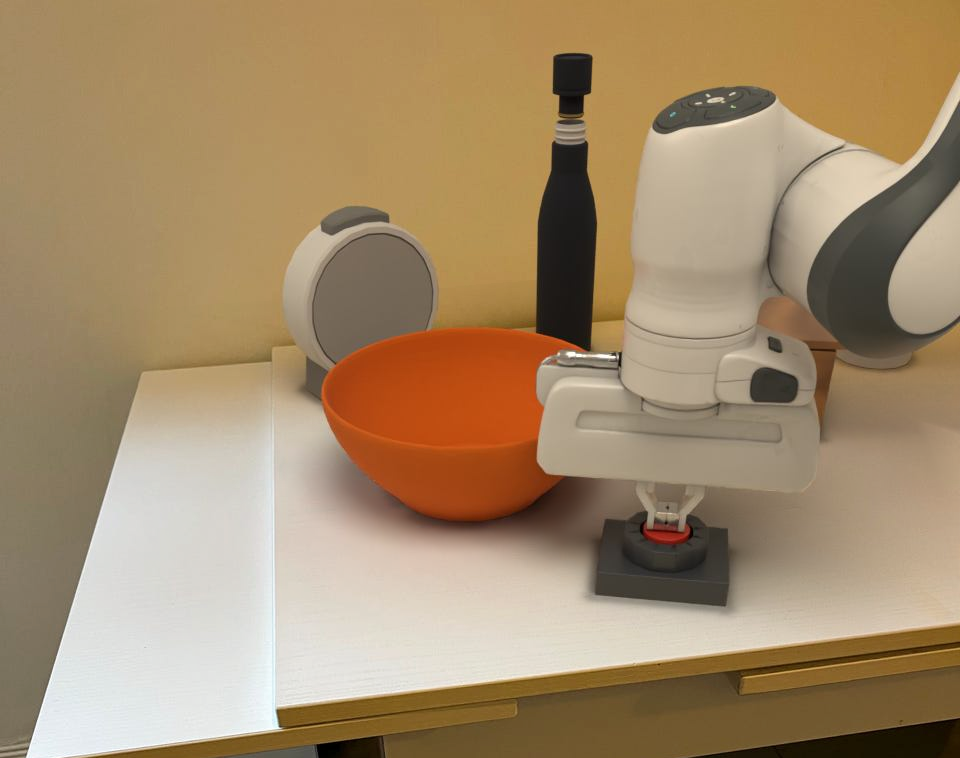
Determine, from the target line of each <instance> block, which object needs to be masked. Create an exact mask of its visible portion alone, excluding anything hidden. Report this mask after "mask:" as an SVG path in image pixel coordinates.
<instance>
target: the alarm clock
mask: <svg viewBox="0 0 960 758" xmlns="http://www.w3.org/2000/svg"><path fill="white" fill-rule="evenodd" d="M281 292H282V295H281V297H282V298H281V299H282V315H283V317H284V321H285V325H286V329H287V331H288V333H289V335H290V337H291V339H292V340H293V342H294V343H295V345H296V347H297V348H298V349H299V350H300V351H301V352H303V354H304V355H305V356H306V357H305V359H306V360H305V389H306V391H308V392H310V393H311V394H312V395H314V396H315V397H316V398H318V399H319V400H320V401H322V399H321V390H322V385H323V382H324V379H325V377H326V375H327V374H328V373H329V372H330V370H331V369H332V368H333V367H334V366H335V365H336V364H337V363H339V362H340V361H341V360H342V359H344V358H345V357H347V356H348V355H350V354H352V353H353V352H355V351H357V350H359V349H361V348H364V347H366V346H368V345H371V344H373V343H376V342H379V341H382V340H385V339H389V338H392V337H396V336H400V335H405V334H410V333H415V332H420V331H427V330H433V327H434V324H435V321H436V317H437V312H438V310H439V309H438V308H439V293H440V288H439V282H438V275H437V269H436V267H435V265H434V262H433V259H432V257H431V255H430V253H429V251H428V250H427V249H426V247H425V246H424V245H423V244H422V242H421V241H420V240H419V238H418V237H417V236H415V235H413V234H412V233H410V232H409V231H408V230H406V229H405V228H404V227H401V226H399V225H396V224H394V223H392V222H390V214H389V213H388V212H385V211H384V210H381V209H378V208H375V207H370V206H363V205H362V206H361V205H351V206H349V205H347V206H344V207H341V208H338V209H336V210H334V211H332V212H331V213H329V214H328V215H326V216H325V217H324V218H323V219H321V220H320V224H319V225H317V227H315V228H314V229H312V230H311V231H310V232H309V233H308V234H307V235H306V236H305V238H304V239H302V241H301V242H300V244H299V245H298V246H297V247H296V248H295V250H294V253H293V255H292V257H291V259H290V260H289V264H287V268H286V270H285V275H284V280H283V285H282V290H281Z"/></svg>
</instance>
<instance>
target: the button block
mask: <svg viewBox="0 0 960 758" xmlns="http://www.w3.org/2000/svg"><path fill="white" fill-rule="evenodd" d="M647 517H648V512H647V511H646V510H643V511H639V512H636V513H635V514H633V515H632V516H630V517H629V518H628V519H617V518H616V519H615V518H614V519H613V518H604V523H603V529H602V535H601V542H600V547H599V553H598V554H599V555H598V560H597V566H596V572H595V573H596V575H595V589H594V596H603V597H613V598H614V597H616V598H625V599H636V600H645V601H646V600H648V601H658V602H667V603H681V604H693V605H704V606H715V607H727V602H728V595H729V589H730V556H729V555H730V554H729V551H730V550H729V528H728V527H716V526H708V525H707V524H705V522H703V520H701V518H700V517H698V516H696V515H694V514H691V513H689V514H688V515H686V523H687V524H688V525H689V528H690V535H689V540H688V541H687V542H685V543H681V544H676V545H665V544H657V543H654V542H652V541H649V540H647V539H645V537H644V536H643V526H644V523H645V522H646V521H647Z"/></svg>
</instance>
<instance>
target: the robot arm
mask: <svg viewBox="0 0 960 758" xmlns="http://www.w3.org/2000/svg"><path fill="white" fill-rule="evenodd" d="M631 217H632V218H631V228H630V238H629V251H630V257H631V261H632V268H633V277H632V284H631V288H630V291H629V293H628V295H627V299H626V302H625V306H624V316H623V329H622V342H621V350H620V351H608V350H607V351H605V350H591V352H582V351H577V350H572V349H563V350H558V353H557V354H555V355H551V356H549V357H547V358H545V359H544V360H543V361H542V362H541V363H540V364H539V366H538V368H537V371H536V396H537V399H538V400H539V402H540V403H541V405H542V406H543V407H544V411H543V415H542V420H541V425H540V431H539V437H538V446H537V463H538V464H539V465H540V467H541V468H542V469H543V470H544V472H545V473H547V474H551V475H563V476H565V477H576V478H577V477H578V478H590V479H591V478H593V479H606V480H618V481H631V482H636V483H635V494H636V496H637V497H638V499H639V501H640V502H641V504H642V506H643V508H644V511H647V512H648V517H647V528H646V529H648V530H661V531H674V532H684V530H685V523H686V515H688V514H691V512H692V511H693V510H694V509H695V508H696V507H697V506H698V505H699V503H700V502H701V501H702V500H703V499H704V498H705V493H706V487H711V488H712V487H713V488H723V489H724V488H726V489H737V490H739V489H740V490H751V491H752V490H753V491H765V492H779V493H792V494H800V493H802V492H804V491H805V490H807V489H808V488H809V487H810V486H811V485H812V484H814V482H815V479H816V476H817V471H818V465H819V455H820V441H821V429H820V425H819V419H818V412H817V407H816V402H815V398H814V392H815V388H816V380H817V371H816V365H815V361H814V358H813V355H812V353H811V351H810V349H809V347H808V345H807V344H805V343H804V342H802V341H800V340H798V339H795V338H793V337H790V336H787V335H784V334H782V333H779V332H776V331H774V330H771V329H768V328H766V327H763V326H761V325H758V324H757V319H758V313H759V309H760V306H761V304H762V303H763V302H764V301H765V300H766V299H768V298H771V297H783V296H786V297H788V298H789V299H791V300H792V301H793V302H795V303H796V304H798V305H799V306H800V307H802V308H803V309H805V310H806V311H808V312H809V313H810V314H812V315H813V316H814V317H815V318H816V320H817V321H818V322H819V323H820V324H821V325H822V326H823V327H824V328H825V329H826V330H827V331H828V332H829V333H830V334H831V335H832V336H833V337H834V338H835V339H836V340H837V341H838V342H839V343H840V344H841V345H842V346H843V347H844V348H846V349H847V350H848V351H850V352H852V353H854V354H856V355H859V356H862V357H866V358H874V359H884V358H892V357H897V356H901V355H904V354H907V353H910V352H912V353H913V352H915V351H917V350H919V349H922V348H924V347H926V346H928V345H930V344H932V343H934V342H936V341H937V340H939V339H940V338H942V337H944V336H945V335H946V334H948V333H949V332H950V331H952V330H953V329H954V328H955V327H957V326H958V325H959V324H960V71H959V72H958V74H957V76H956V78H955V79H954V83H953V84H952V86H951V88H950V90H949V92H948V94H947V96H946V98H945V100H944V102H943V104H942V106H941V108H940V110H939V112H938V114H937V116H936V117H935V120H934V122H933V124H932V126H931V127H930V130H929V132H928V134H927V135H926V138H925V139H924V141H923V143H922V145H921V146H920V147H919V148H918V150H917V151H916V152H915V154H914V155H913V156H912V157H910V158H909V159H908V160H907V161H906V162H904V163H903V164H901V163H898V162H895V161H893V160H891V159H888V158H886V157H885V156H884V155H882V154H880V153H878V152H875V151H873V150H871V149H869V148H866V147H864V146H862V145H860V144H857V143H855V142H852V141H849V140H846V139H843V138H840V137H838V136H836V135H833V134H830V133H828V132H826V131H823V130H822V129H820V128H818V127H816V126H815V125H812V124H810V123H809V122H807V121H806V120H804V119H802V118H801V117H799V116H798V115H796V114H795V113H793V112H792V111H791V110H790V109H789V108H788V107H786V106H785V105H783V104H782V102H781V101H780V100H779V96H777V95H776V93H774V92H773V91H772V90H769V89H766V88H762V87H759V86H753V85H735V86H718V87H711V88H707V89H702V90H699V91H695V92H692V93H690V94H687V95H685V96H682V97H679V98H678V99H676V100H674V101H673V102H672V103H670V104H669V105H668V106H666V107H664V109H662V110H661V111H659V113H658V114H657V115H656V117H655V118H654V120H653V122H652V123H651V125H650V127H649V129H648V132H647V135H646V137H645V142H644V145H643V148H642V153H641V156H640V162H639V167H638V172H637V179H636V185H635V191H634V200H633V208H632V216H631ZM555 360H557V363H550V362H552V361H555ZM657 483H658V484H671V485H683V486H684V485H685V493H684V494H683V495H682V497H680V499H679V500H678V502H677V501H665V500H658V498H657V496H656V494H655V487H656V484H657Z"/></svg>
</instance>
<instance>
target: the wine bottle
mask: <svg viewBox="0 0 960 758" xmlns="http://www.w3.org/2000/svg"><path fill="white" fill-rule="evenodd" d="M593 59H594V57H593V55H592V54H590V53H584V52H583V53H582V52H565V53H564V52H563V53H558V54H555V55H553V56H552V92H551V93H552V95H555V96H558V111H557V116H558V117H559V118H561V119H559V120H556V121H555V126H554V127H553V128H554V129H553V130H554V131H555V133H554V134H553V137H554V139H555V140H553V141H552V142H551V159H550V160H551V161H550V162H551V163H550V173H549V176H548V178H547V181H546V185H545V188H544V189H543V190H544V191H543V193H542V198H541V202H540V206H539V211H538V218H537V232H536V233H537V234H536V235H537V237H536V238H537V241H536V243H537V244H536V294H535V295H536V298H535V303H536V304H535V313H536V314H535V333H537V334H542V335H546V336H550V337H553V338H557V339H560V340H563V341H566V342H568V343H571V344H573V345H576V346H578V347H580V348H582V349H583V350H585V351H587V352H591V351H592V335H593V334H592V333H593V312H594V295H595V294H594V293H595V275H596V274H595V273H596V257H597V256H596V255H597V234H598V219H597V218H598V216H597V208H596V202H595V196H594V192H593V189H592V184H591V179H590V176H589V172H588V161H589V160H588V159H589V142H588V141H587V140H586V138H587V133H586V131H587V129H588V127H587V125H586V120H583V119H581V118H583V117H584V116H585V110H584V107H585V96H587V95H591V93H592V81H593V63H594V61H593Z"/></svg>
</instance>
